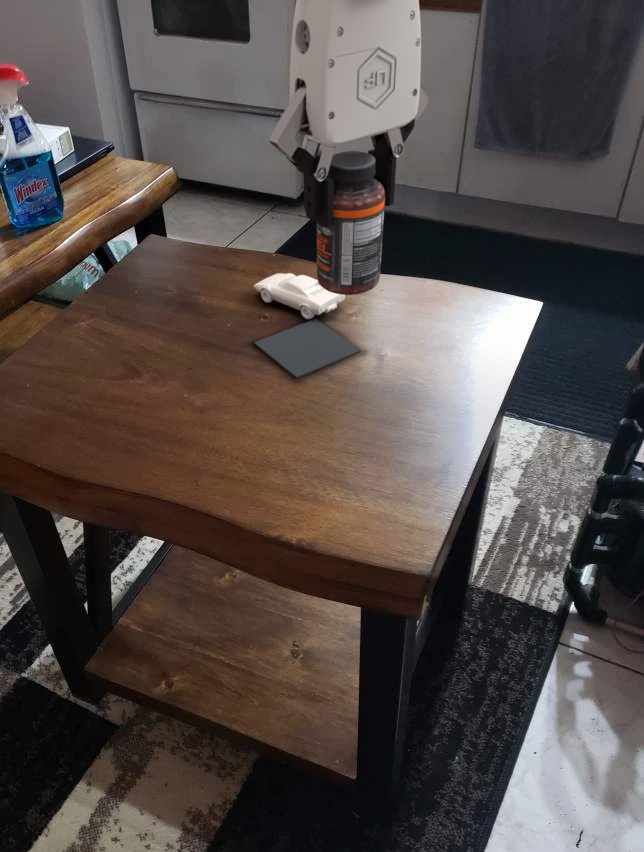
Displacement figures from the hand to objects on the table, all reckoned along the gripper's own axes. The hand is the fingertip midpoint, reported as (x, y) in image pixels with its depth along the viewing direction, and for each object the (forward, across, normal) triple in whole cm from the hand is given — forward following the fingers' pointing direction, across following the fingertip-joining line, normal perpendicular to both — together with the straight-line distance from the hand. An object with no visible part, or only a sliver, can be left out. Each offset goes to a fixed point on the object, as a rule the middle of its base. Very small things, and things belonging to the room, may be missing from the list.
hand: (349, 209), depth 66 cm
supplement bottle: (+7, 0, 0) cm, 7 cm away
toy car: (+21, +8, +20) cm, 30 cm away
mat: (+21, +3, +11) cm, 24 cm away
